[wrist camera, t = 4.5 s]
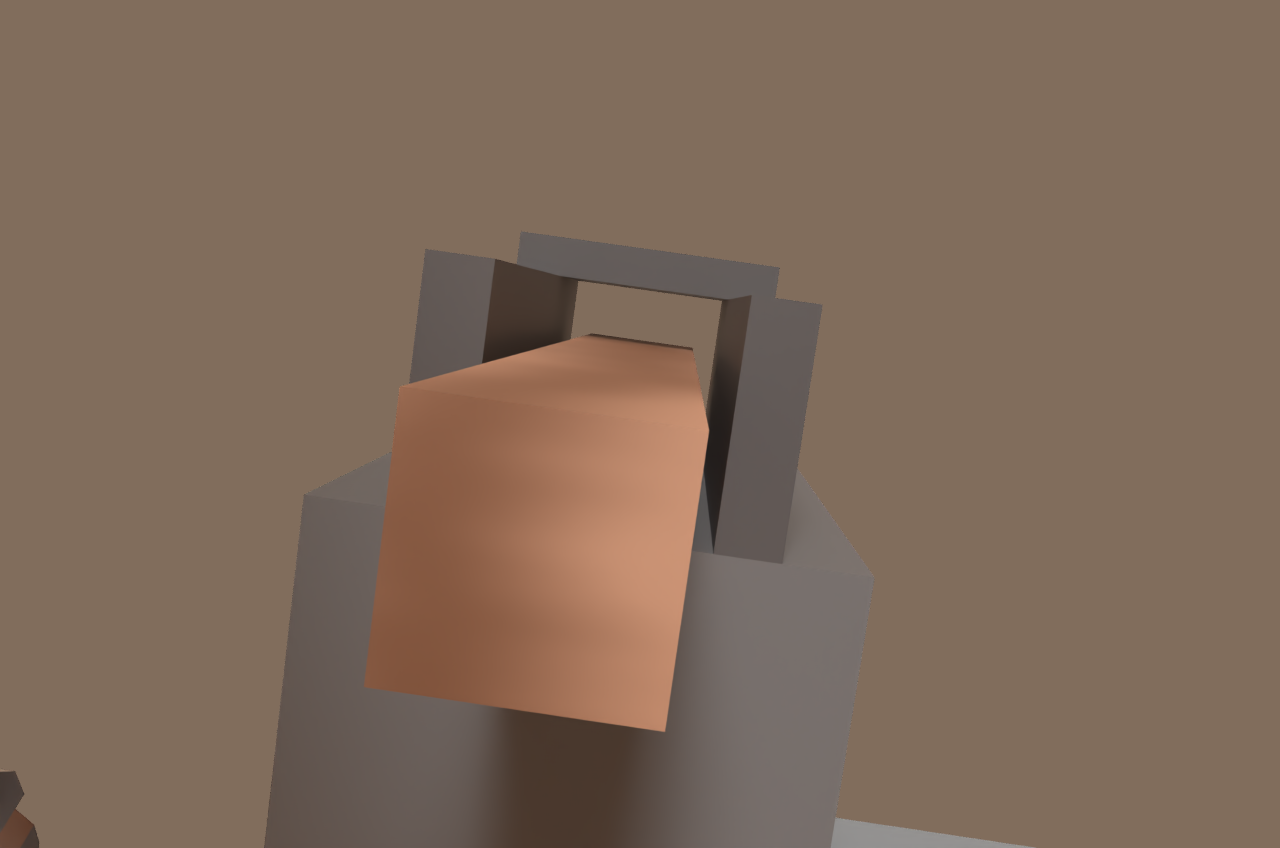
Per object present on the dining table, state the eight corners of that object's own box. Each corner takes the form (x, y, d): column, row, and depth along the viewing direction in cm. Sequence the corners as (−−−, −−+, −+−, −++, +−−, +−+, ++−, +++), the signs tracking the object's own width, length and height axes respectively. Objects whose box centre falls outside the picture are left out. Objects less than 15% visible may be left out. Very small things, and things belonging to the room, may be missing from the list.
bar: (364, 686, 12) (399, 386, 11) (578, 433, 36) (592, 333, 35) (664, 731, 12) (709, 431, 11) (677, 447, 36) (692, 347, 35)
